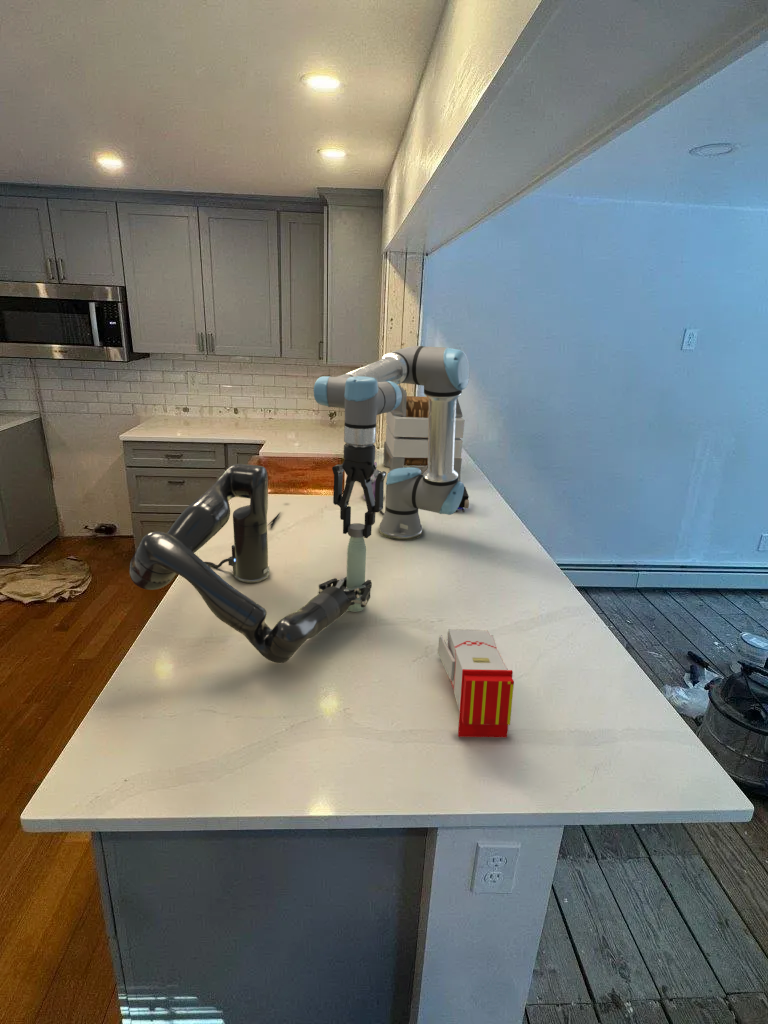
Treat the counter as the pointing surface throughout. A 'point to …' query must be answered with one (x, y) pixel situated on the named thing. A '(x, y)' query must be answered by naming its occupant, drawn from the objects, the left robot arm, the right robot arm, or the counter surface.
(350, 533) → the cap
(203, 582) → the left robot arm
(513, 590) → the counter surface
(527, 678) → the counter surface
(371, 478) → the figurine
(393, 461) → the grey slatted crate
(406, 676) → the counter surface
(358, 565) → the bottle
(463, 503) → the figurine character
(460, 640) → the toy
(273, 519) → the feather
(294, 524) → the counter surface
